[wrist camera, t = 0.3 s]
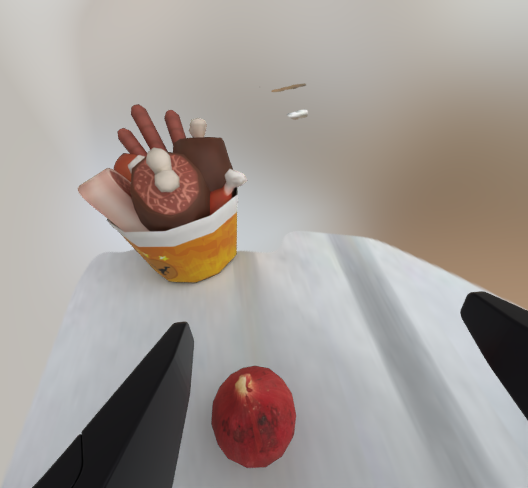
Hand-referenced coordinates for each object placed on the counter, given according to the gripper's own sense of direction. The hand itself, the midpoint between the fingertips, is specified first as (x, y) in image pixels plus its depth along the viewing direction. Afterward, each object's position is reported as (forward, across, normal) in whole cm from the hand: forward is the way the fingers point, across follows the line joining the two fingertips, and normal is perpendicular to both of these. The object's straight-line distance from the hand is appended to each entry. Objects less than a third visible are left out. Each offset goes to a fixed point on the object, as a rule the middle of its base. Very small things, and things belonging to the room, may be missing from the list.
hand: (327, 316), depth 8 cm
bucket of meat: (+28, +12, +15) cm, 34 cm away
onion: (+4, +3, +17) cm, 18 cm away
